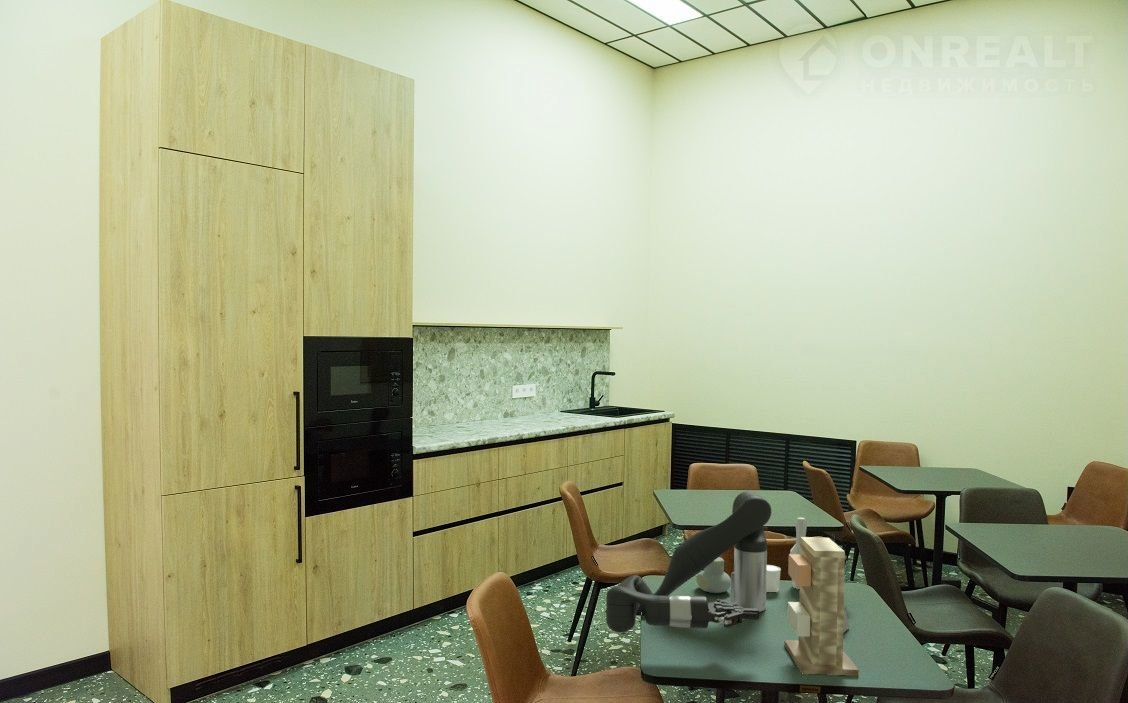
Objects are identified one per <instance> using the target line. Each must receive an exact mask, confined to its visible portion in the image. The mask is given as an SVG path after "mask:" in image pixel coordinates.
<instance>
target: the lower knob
mask: <svg viewBox="0 0 1128 703" xmlns="http://www.w3.org/2000/svg"><path fill="white" fill-rule="evenodd" d="M787 624H789V626H790V628H791V629H792V631H793V632H794V634H795V636H796V637H799V636H804V637H810V615H809V613H808V612H807V611H806V609H805V608H804V607H803V606H802V604H801V603H800V602H799V601H788V602H787Z"/></svg>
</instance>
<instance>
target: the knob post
mask: <svg viewBox="0 0 1128 703" xmlns="http://www.w3.org/2000/svg"><path fill="white" fill-rule="evenodd" d="M800 554H801V555H802V556H803V557H804V558H805V559H806V560H807V561H808V563H809V564H810V565H811V586H800V590H799V593H798V594H799V601H798V602H800V603H801V604H802V606H803V607H804V608H805V609H806V611H807V612H808V613H809V615H810V637H804V636H798V639H784V640H783V642H784V645H783V646H784V647H785V649H786V651H787V652H788V655H789V656H790V657H791V659H792V660H793V663H794V664H795V665H797V666H796V667H797V669H798V668H799V669H798V671H799V670H800V671H801V672H800V671H799V672H800V674H801V673H803V674H802V675H808V674H832V675H831V676H837V675H847V676H846V677H859V672H860V671H859V669H858V667H857V665H855V664H854V662H853V661H852V660H851V658H850V657H849V656H848V654H846V652H845V651H844V633H843V619H844V607H845V604H844V603H845V568H846V567H845V565H846V559H845V555H846V552H845V550H844V549H843V548H842V547H840V546H839V545H838V544H837V543H836V542H835V541H834V542H833V541H832V538H830V537H816V536H815V537H813V536H812V537H811V536H810V537H809V536H806V537H801V538H800ZM849 675H850V676H849Z"/></svg>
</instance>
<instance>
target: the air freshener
mask: <svg viewBox="0 0 1128 703" xmlns="http://www.w3.org/2000/svg"><path fill="white" fill-rule="evenodd" d="M724 563H725V560H724V559H723V557H720V556H719V557H718V558H717V559H716V560H714V561H713V562H712V563H711V564H709V565H708V566H707V567H706V568H704V569H703V570H702V571H700V572H699V573H698V574H696V583H697V586H698V587H699V589H701V590H702V591H704V592H705V591H706V592H705V593H707V592H709V593H708V594H722V592H723V593H725V592H727V591H728V590H730V589H731V576H730V575H729V574H728V573H726V572H725V571H724V569H725V568H724V567H725V564H724Z"/></svg>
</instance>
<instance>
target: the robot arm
mask: <svg viewBox="0 0 1128 703" xmlns="http://www.w3.org/2000/svg"><path fill="white" fill-rule="evenodd" d="M771 515H772V507H771V504H770V503H769V502H768V501H767V500H766V499H765V498H763V497H762V496H760V495H759V494H757V493H755V492H753V491H746V490H745V491H742V492H741V493H738V495H737V496H736V497H735V498H734V500H733V502H732V512H731V514H730V515H729V516H728V517H727V518H725V519H724V520H723V521H721V522H719V523H717V524H715V525H713V526H710V527H708V528H705V529H702V530H700V531H698V532H696V533H694V534H693V535H691V536H690V537H689V538H687V539H686V540H684V541H683V542H681V544H679V545H678V546H677V547H676V548H675V549H674V551H673V553H672V555H671V558H670V561H669V564H668V567H667V571H666V573H665V575H664V578H663V580H662V582H661V583H660V586H659V587H658V589H657V590H656V591H655V592H654V593H653V592H652V590H651V589H650V587H649V586H648V585H647V584H646V582H645V580H643V578H642V577H641V576H639V575H638V574H633V575H631V576H628V577H626V578H625V579H624V580H622V581H621V582H620V583H619V584H618V585H616V586H613V587H611V588H609V589H608V591H607V592H606V599H605V600H606V604H605V605H606V610H605V611H606V612H605V614H606V615H605V616H606V618H605V622H606V625H607V627H608V628H609V629H610V630H611V631H613V632H616V633H626V632H628V631H630V630H632V629H633V628H634V627H635V624H636V620H637V619H636V618H637V616H639V617H640V616H644V620H645V623H646V624H648V625H650V626H661V627H664V626H665V627H674V628H684V629H685V628H687V629H707V628H708V627H709V622H710V623H716V624H723V627H724V628H730V627H733V626H738V625H740V624H743V623H744V622H743V621H745V620H755V621H756V620H757V621H758V620H760V613H761V612H763V611H765V610H766V609H767V592H766V573H767V565H768V563H767V561H768V558H767V557H768V541H767V538H766V535H765V532H764V531H765V530H764V526H766V524H767V523H768V522H769V520H771ZM732 547H733V548H734V551H733V555H734V556H733V557H734V558H733V560H734V561H733V572H731V574H730V579H731V587H730V601H728V600H725V599H721V598H717V599H716V601H715V602H709V601H708V598H707V596H704V595H688V594H687V595H685V594H684V595H682V594H680V595H679V594H676V595H671V594H672V593H673V592H675V591H676V590H677V589H679V588H680V587H681V586H682V585H684V584H685V583H686V582H687V581H689V580H691V579H692V578H693V577H695V576H697V575H698V574H699V573H700V572H702V571H704V568H706V567H707V566H708V565H709V564H711V563H712V562H713V561H714V560H716V559H717V558H718V557H720V556H723V554H725V552H728V550H730V549H731V548H732ZM641 612H642V615H641Z"/></svg>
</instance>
